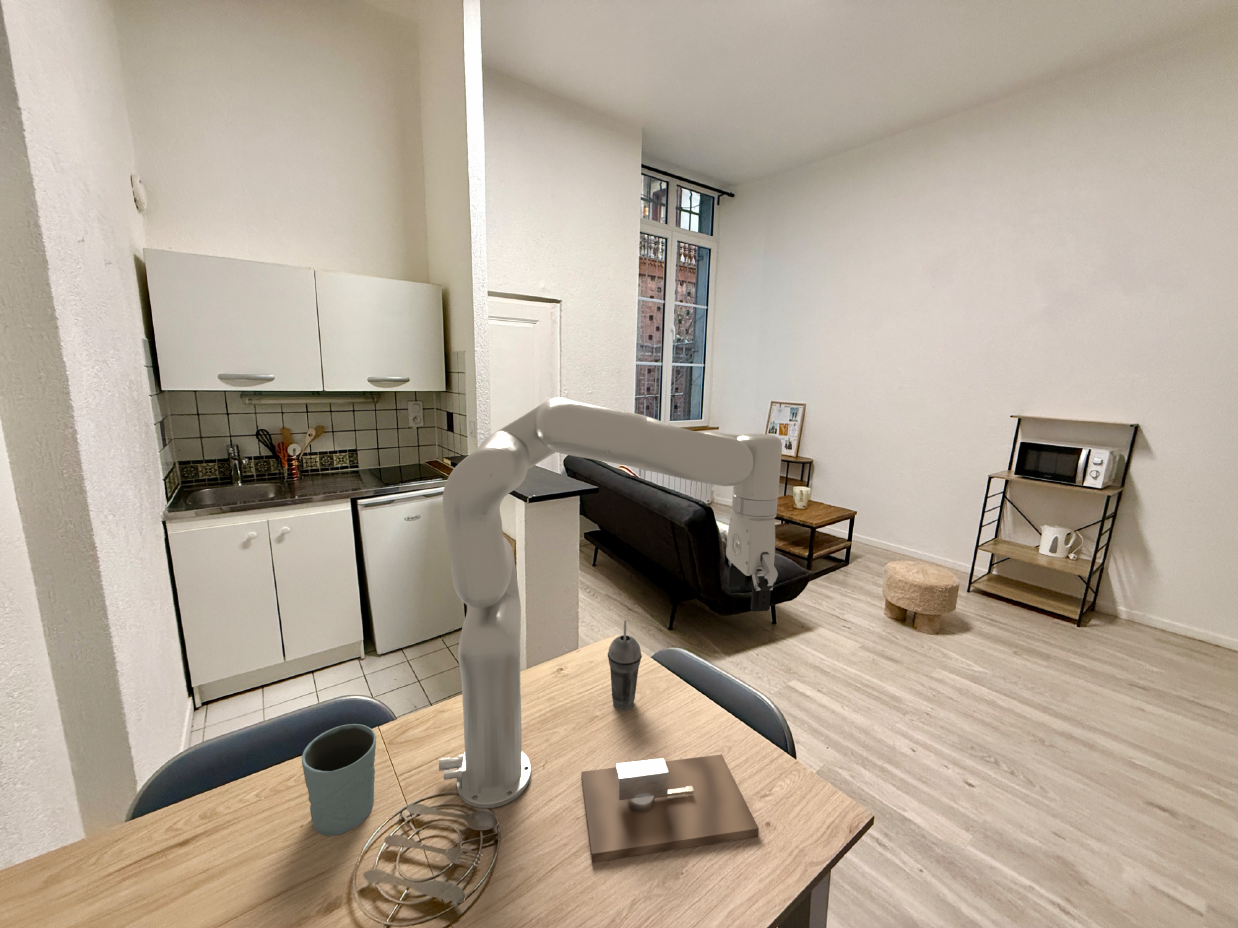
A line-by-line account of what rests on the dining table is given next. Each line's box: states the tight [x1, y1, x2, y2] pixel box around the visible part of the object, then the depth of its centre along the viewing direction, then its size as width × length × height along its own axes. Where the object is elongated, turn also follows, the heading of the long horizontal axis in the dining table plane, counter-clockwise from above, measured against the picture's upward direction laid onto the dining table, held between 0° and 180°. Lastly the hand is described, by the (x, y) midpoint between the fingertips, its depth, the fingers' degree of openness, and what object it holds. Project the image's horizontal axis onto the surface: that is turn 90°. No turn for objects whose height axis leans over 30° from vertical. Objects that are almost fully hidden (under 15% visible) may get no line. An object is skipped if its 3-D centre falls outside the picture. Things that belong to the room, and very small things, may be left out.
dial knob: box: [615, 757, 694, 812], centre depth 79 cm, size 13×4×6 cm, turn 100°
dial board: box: [580, 754, 760, 863], centre depth 80 cm, size 26×15×2 cm, turn 100°
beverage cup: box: [607, 620, 643, 711], centre depth 103 cm, size 7×7×20 cm
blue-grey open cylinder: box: [301, 723, 377, 837], centre depth 77 cm, size 10×10×12 cm
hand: (747, 597), depth 87 cm, fingers open, 9 cm apart
